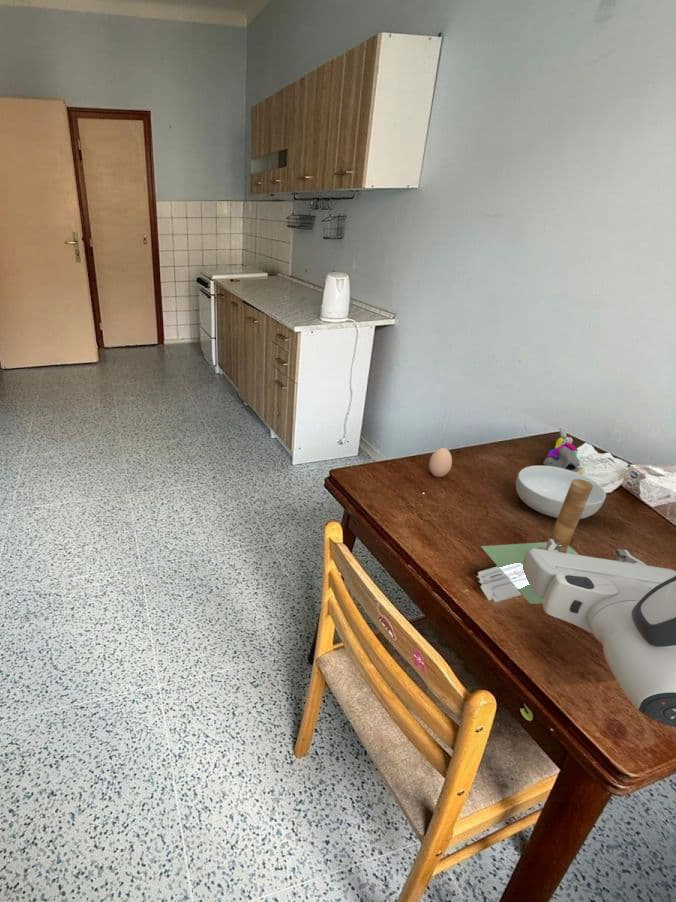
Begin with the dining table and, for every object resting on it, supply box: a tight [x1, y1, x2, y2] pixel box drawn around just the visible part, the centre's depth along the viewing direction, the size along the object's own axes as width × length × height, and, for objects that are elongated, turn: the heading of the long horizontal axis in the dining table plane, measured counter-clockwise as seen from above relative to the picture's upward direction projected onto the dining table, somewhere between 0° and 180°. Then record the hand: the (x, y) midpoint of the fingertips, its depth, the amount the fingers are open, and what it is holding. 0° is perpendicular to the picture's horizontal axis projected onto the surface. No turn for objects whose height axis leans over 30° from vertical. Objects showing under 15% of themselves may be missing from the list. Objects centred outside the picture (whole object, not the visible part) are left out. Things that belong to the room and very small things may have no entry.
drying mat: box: [480, 541, 580, 605], centre depth 91 cm, size 18×16×1 cm
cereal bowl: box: [515, 465, 607, 520], centre depth 108 cm, size 17×17×7 cm
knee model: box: [542, 427, 587, 475], centre depth 127 cm, size 9×8×25 cm
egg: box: [428, 447, 453, 478], centre depth 121 cm, size 5×5×8 cm
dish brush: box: [536, 479, 593, 553], centre depth 85 cm, size 6×6×20 cm
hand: (585, 547), depth 77 cm, fingers open, 8 cm apart
